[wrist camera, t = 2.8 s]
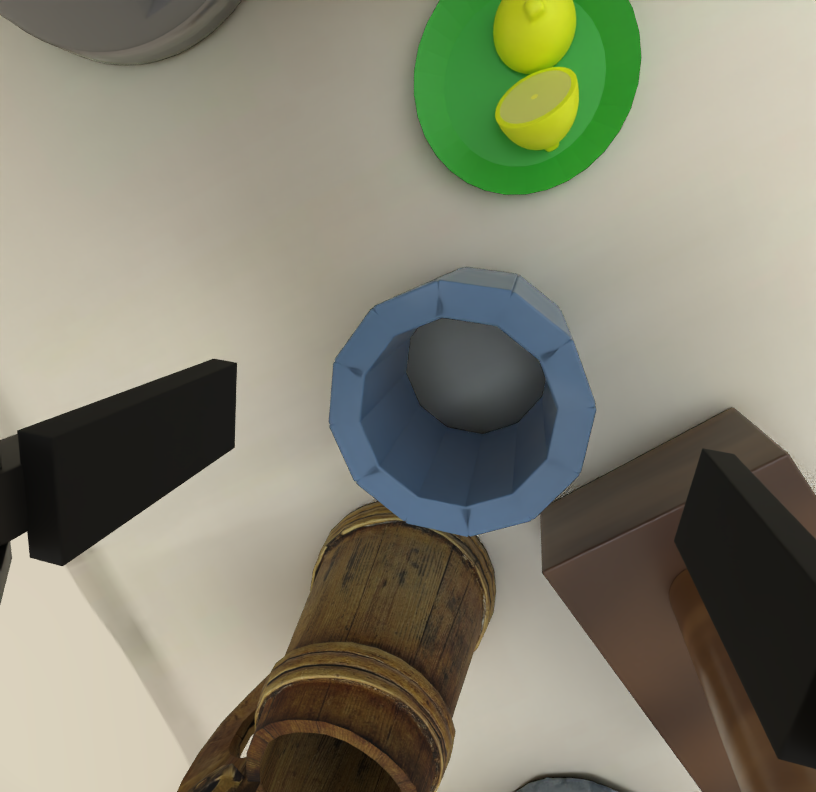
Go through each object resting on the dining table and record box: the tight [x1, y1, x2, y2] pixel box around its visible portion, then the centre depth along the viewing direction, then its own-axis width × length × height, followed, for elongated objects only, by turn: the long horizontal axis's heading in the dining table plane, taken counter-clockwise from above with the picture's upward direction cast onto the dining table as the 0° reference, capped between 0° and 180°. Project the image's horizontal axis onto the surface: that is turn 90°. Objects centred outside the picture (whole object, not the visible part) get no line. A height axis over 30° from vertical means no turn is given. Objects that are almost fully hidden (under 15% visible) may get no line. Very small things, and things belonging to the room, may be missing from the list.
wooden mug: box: [177, 501, 496, 792], centre depth 19 cm, size 9×14×18 cm, turn 111°
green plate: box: [414, 0, 641, 195], centre depth 19 cm, size 8×8×3 cm
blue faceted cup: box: [329, 267, 596, 537], centre depth 20 cm, size 8×8×7 cm
